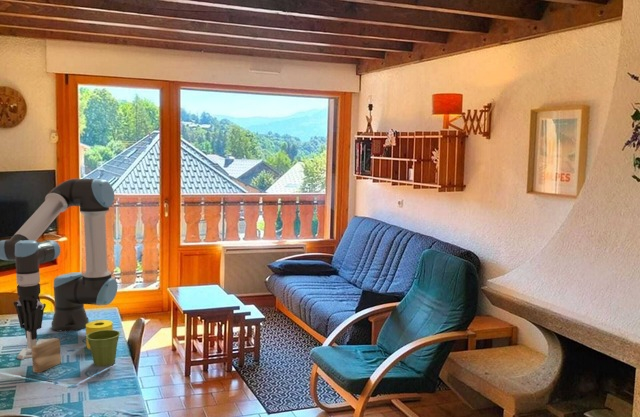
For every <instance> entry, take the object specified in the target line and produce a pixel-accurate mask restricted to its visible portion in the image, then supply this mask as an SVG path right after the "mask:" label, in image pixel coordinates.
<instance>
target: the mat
mask: <svg viewBox="0 0 640 417" xmlns="http://www.w3.org/2000/svg"><path fill="white" fill-rule="evenodd" d="M20 377H22V378H25V379H27V378H28V379H32V380H38V381H43V382H47V383H54V381H51V380H48V379H47V380H46V379H41V378H36V377H32V376H31V377H30V376H27V375H20Z"/></svg>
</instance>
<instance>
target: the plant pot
mask: <svg viewBox="0 0 640 417" xmlns="http://www.w3.org/2000/svg"><path fill="white" fill-rule="evenodd" d="M120 335H121V332H120V331H119V330H116V329H113V330H100V331H95V332H92V333H89V334H88V335H87V336H86V335H85V336H86V337H85V339H86V338H87V339H88V342H89V344H90V348H91V349H90V351H91V352H90V353H91V358H92V361H93V365H94V366H96V367H106V366H109V367H111V366H113V365H114V363H116V356H117V348H118V342H119V338H120Z"/></svg>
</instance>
